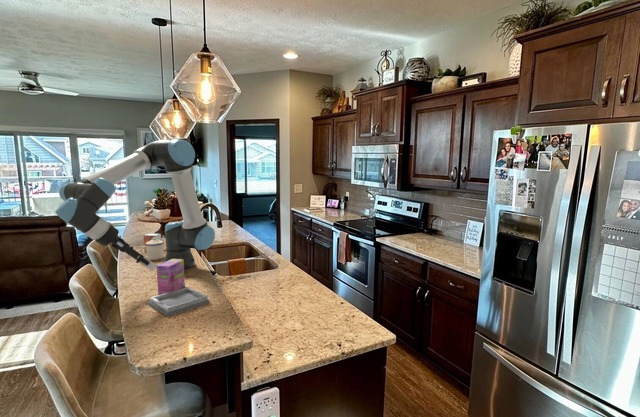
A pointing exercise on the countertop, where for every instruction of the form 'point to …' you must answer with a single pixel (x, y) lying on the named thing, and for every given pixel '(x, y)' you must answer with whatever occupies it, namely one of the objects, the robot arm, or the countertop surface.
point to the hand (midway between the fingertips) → (149, 264)
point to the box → (170, 275)
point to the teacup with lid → (154, 249)
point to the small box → (150, 238)
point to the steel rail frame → (172, 308)
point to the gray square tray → (177, 300)
